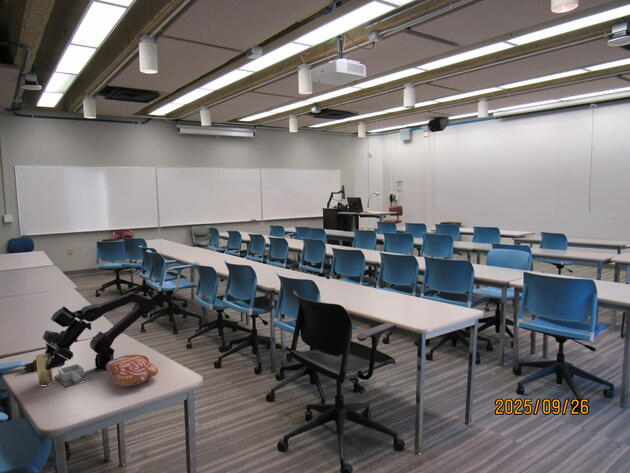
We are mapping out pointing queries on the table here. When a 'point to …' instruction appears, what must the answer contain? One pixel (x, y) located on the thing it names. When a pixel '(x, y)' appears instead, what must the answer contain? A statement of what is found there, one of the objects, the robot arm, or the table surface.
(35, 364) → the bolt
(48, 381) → the gold metallic cylinder
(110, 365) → the anatomical model
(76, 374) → the manifold
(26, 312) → the table surface
